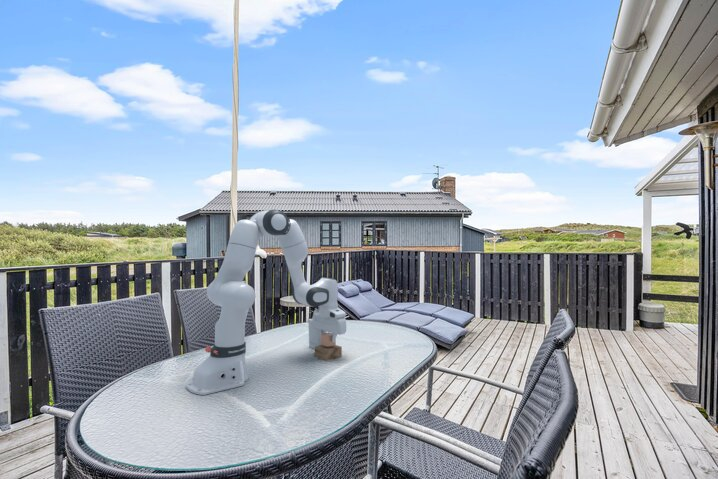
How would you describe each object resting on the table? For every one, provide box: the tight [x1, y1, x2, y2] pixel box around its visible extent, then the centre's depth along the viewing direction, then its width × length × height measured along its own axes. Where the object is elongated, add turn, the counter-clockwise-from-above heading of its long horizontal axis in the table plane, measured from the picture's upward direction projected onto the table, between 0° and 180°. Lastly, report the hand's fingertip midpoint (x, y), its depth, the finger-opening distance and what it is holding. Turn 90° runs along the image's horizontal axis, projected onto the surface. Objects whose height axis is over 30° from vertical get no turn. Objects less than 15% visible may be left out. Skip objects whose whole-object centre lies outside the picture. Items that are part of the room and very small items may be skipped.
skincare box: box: [308, 318, 327, 350], centre depth 185 cm, size 8×6×15 cm
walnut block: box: [314, 344, 343, 362], centre depth 171 cm, size 9×9×5 cm
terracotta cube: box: [321, 331, 337, 347], centre depth 171 cm, size 5×5×5 cm
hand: (328, 340), depth 171 cm, fingers open, 5 cm apart
